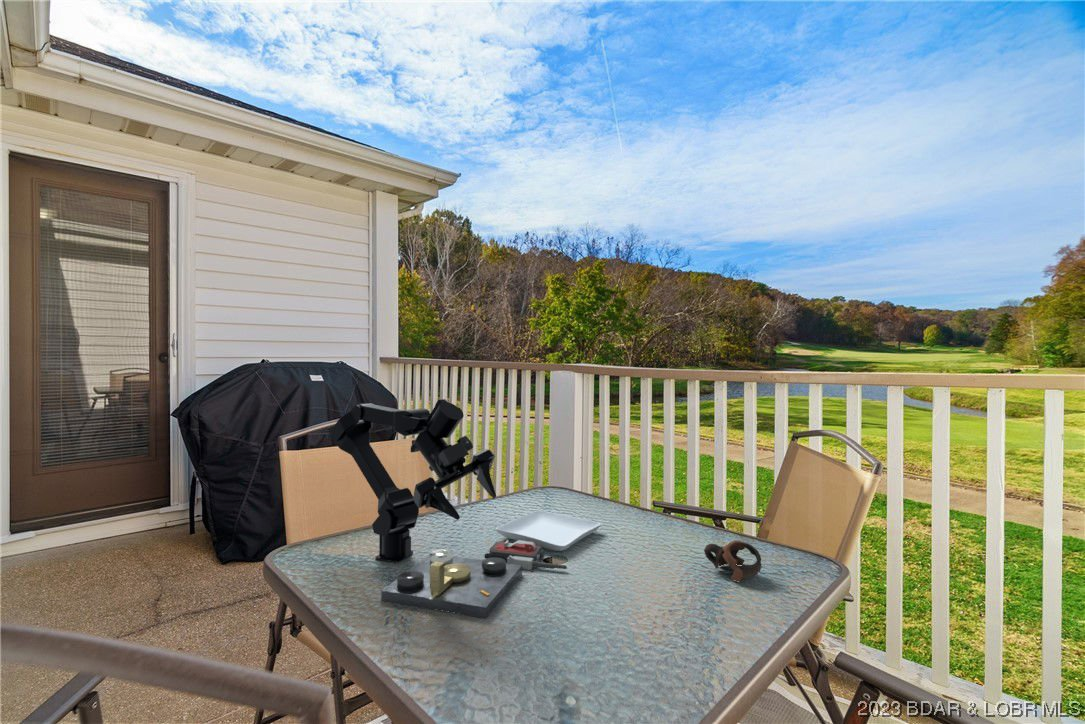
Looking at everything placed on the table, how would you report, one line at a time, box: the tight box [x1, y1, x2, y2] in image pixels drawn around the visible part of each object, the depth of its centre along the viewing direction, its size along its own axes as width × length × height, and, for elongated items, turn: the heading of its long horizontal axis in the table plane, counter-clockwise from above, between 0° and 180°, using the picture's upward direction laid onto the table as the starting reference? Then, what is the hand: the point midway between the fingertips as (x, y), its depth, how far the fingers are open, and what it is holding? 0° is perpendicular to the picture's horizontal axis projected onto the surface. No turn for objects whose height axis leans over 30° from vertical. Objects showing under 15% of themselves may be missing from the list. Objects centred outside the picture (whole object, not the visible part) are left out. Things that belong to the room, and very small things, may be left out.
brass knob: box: [430, 561, 471, 596], centre depth 104 cm, size 12×6×6 cm, turn 163°
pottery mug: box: [703, 540, 762, 582], centre depth 115 cm, size 12×10×8 cm
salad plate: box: [495, 509, 602, 552], centre depth 138 cm, size 21×21×3 cm
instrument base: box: [380, 548, 523, 619], centre depth 107 cm, size 22×20×5 cm
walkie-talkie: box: [483, 539, 568, 571], centre depth 121 cm, size 9×4×20 cm
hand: (477, 507), depth 107 cm, fingers open, 9 cm apart
